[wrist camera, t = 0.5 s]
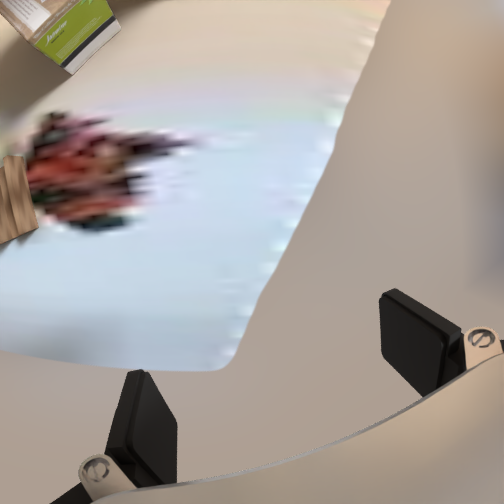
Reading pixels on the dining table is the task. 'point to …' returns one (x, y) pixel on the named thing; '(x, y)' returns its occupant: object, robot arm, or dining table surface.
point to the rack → (15, 200)
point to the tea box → (63, 27)
